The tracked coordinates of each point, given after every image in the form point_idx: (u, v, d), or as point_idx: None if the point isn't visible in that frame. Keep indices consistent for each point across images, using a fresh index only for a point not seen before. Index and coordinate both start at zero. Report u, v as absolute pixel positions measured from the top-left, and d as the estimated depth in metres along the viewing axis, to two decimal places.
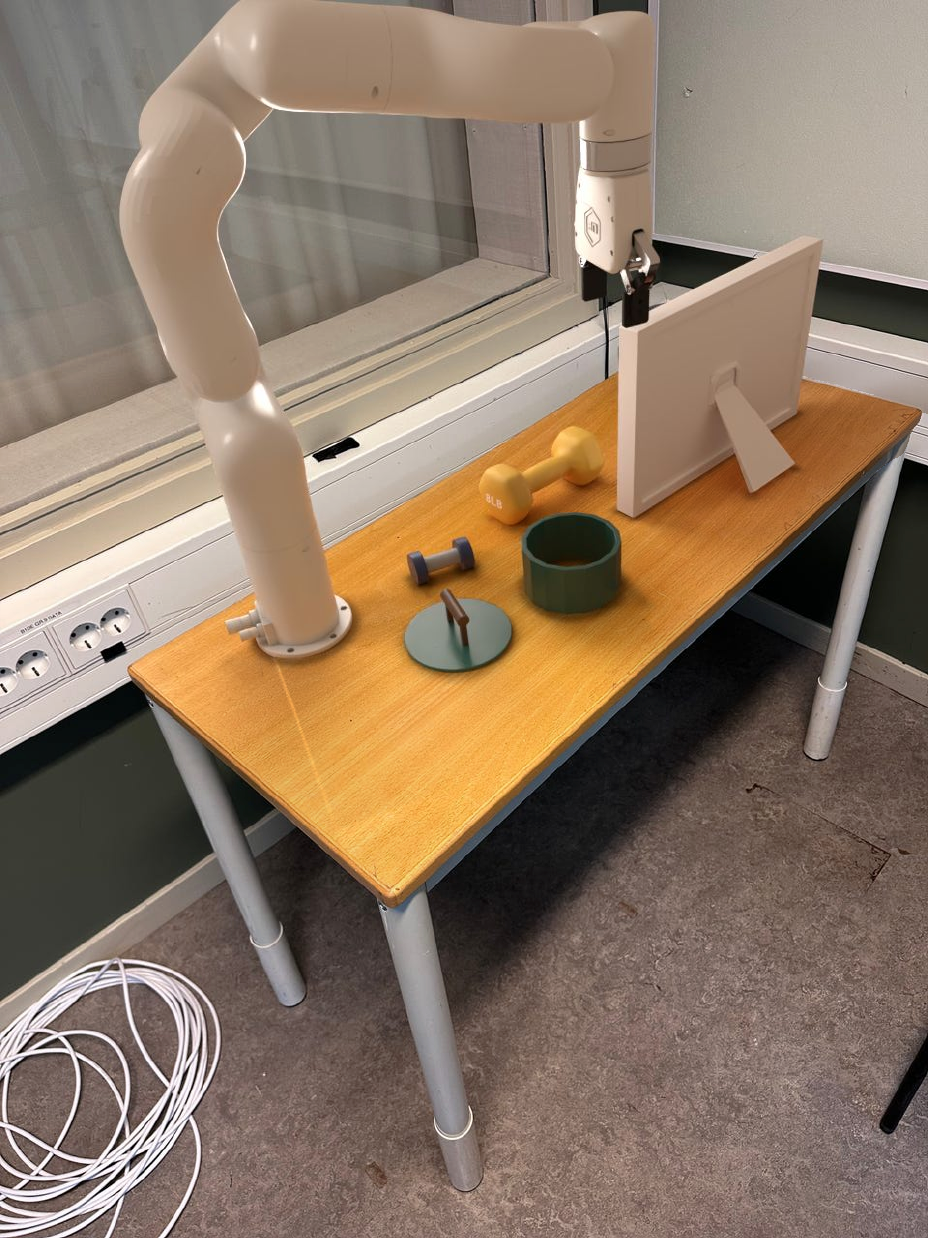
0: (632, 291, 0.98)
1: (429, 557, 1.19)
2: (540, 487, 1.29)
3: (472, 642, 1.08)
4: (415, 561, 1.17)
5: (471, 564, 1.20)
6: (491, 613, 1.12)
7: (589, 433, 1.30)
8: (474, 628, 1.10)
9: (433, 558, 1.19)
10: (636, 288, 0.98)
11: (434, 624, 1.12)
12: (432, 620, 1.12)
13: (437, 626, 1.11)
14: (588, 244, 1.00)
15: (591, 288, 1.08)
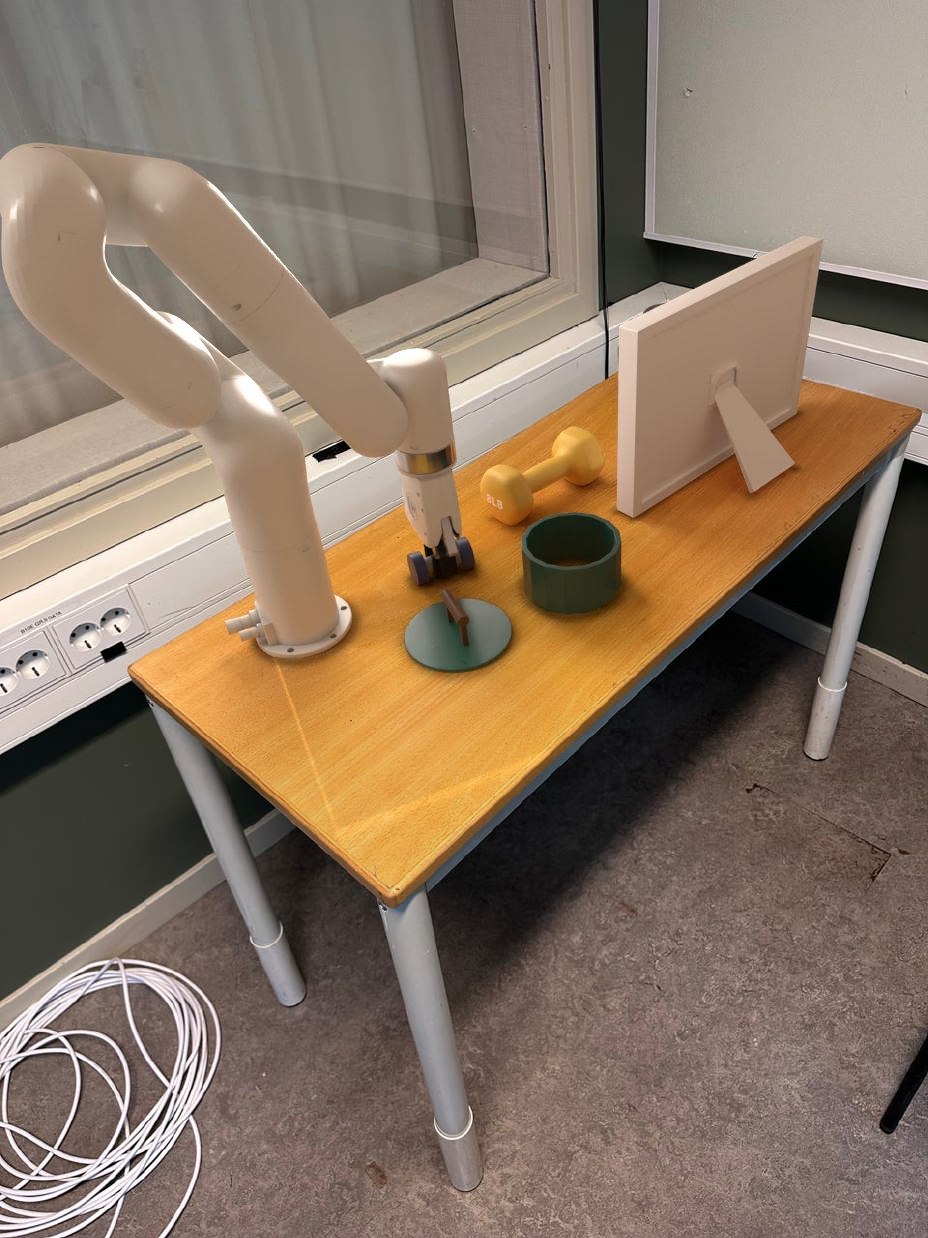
0: (437, 558, 1.16)
1: (429, 557, 1.19)
2: (541, 487, 1.29)
3: (472, 642, 1.08)
4: (415, 562, 1.17)
5: (472, 564, 1.20)
6: (491, 613, 1.12)
7: (590, 433, 1.30)
8: (474, 628, 1.10)
9: None
10: (440, 556, 1.16)
11: (434, 624, 1.12)
12: (432, 620, 1.12)
13: (437, 626, 1.11)
14: (411, 517, 1.15)
15: None
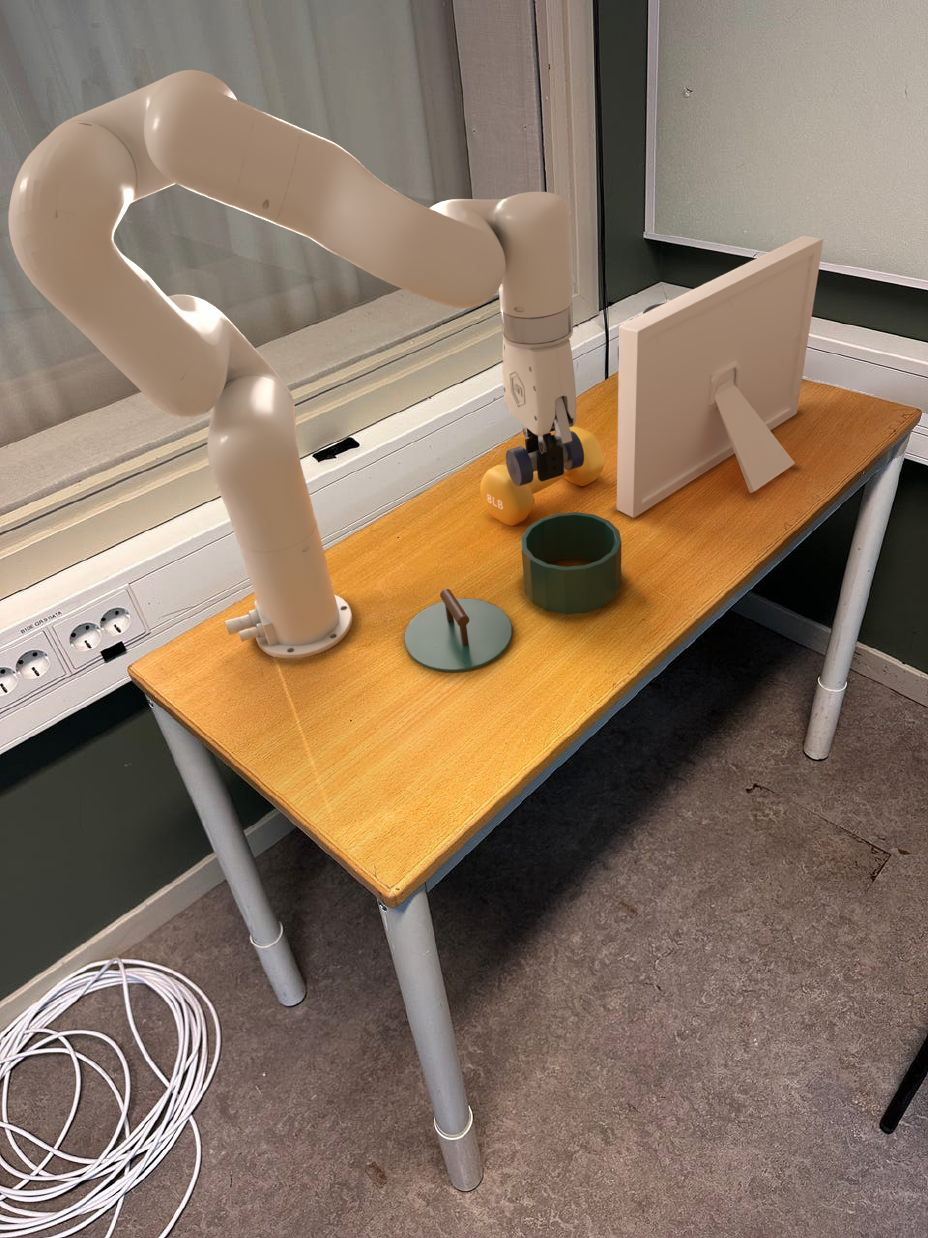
0: (544, 451, 1.01)
1: (532, 453, 1.04)
2: (541, 488, 1.29)
3: (472, 642, 1.08)
4: (518, 457, 1.02)
5: (580, 462, 1.05)
6: (491, 613, 1.12)
7: (590, 433, 1.30)
8: (474, 628, 1.10)
9: None
10: (548, 448, 1.01)
11: (434, 624, 1.12)
12: (432, 620, 1.12)
13: (437, 626, 1.11)
14: (515, 403, 1.00)
15: None
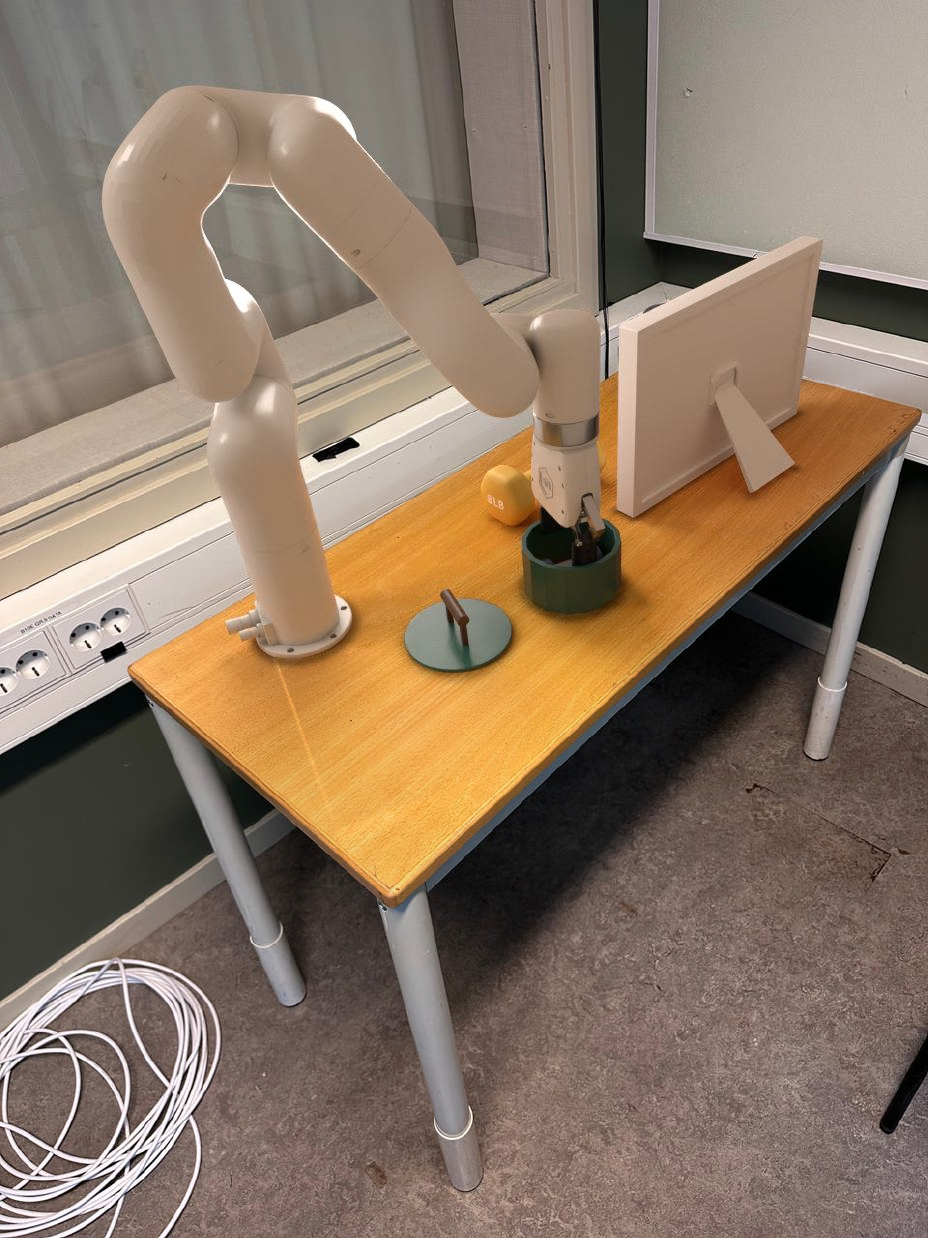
0: (580, 545, 1.05)
1: (558, 564, 1.14)
2: None
3: (472, 642, 1.08)
4: None
5: None
6: (491, 613, 1.12)
7: None
8: (474, 628, 1.10)
9: (562, 565, 1.14)
10: (584, 543, 1.05)
11: (434, 624, 1.12)
12: (432, 620, 1.12)
13: (437, 626, 1.11)
14: (542, 494, 1.07)
15: (549, 524, 1.14)
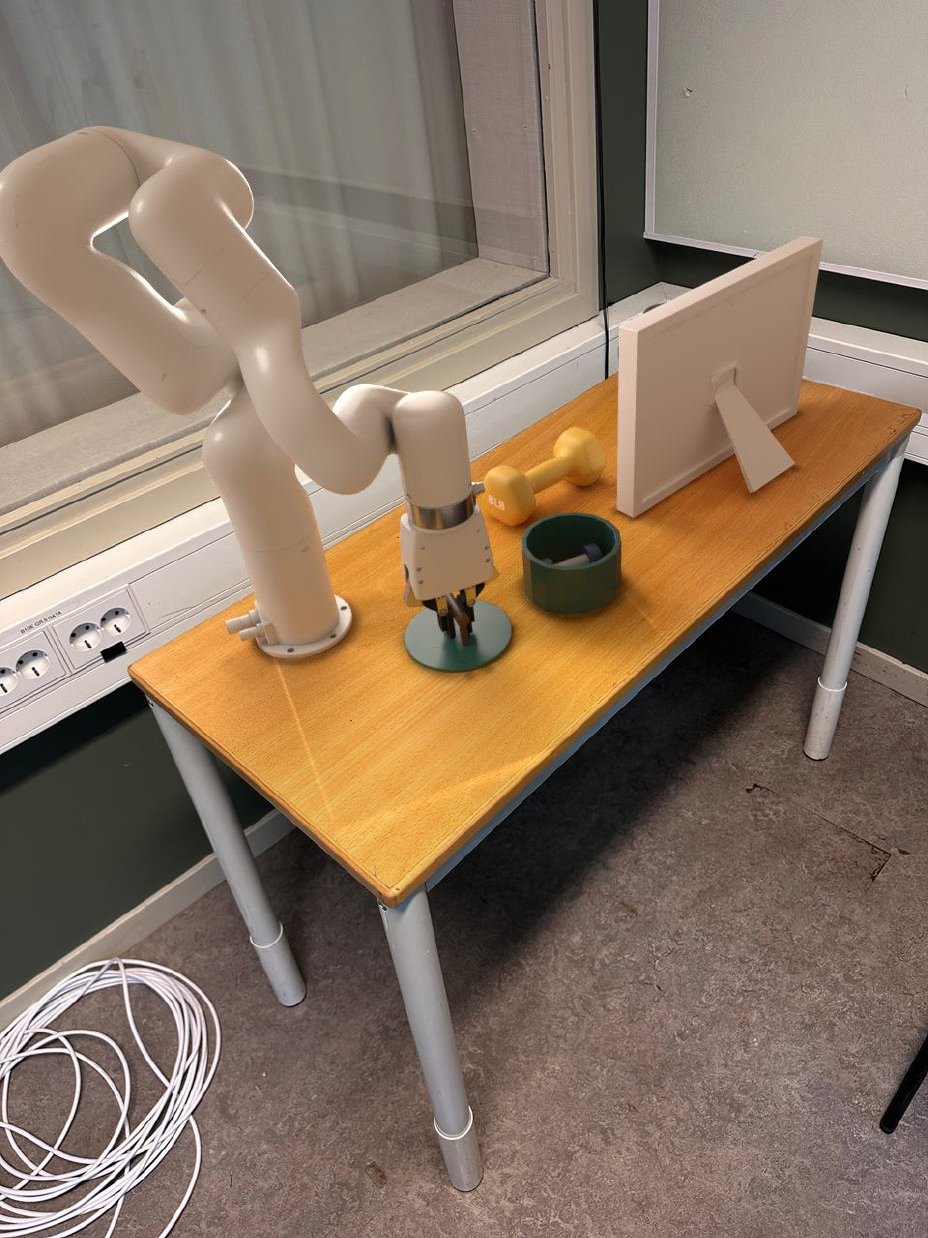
0: None
1: (557, 564, 1.14)
2: (542, 488, 1.29)
3: (472, 642, 1.08)
4: None
5: None
6: (491, 613, 1.12)
7: (591, 434, 1.30)
8: (474, 628, 1.10)
9: (562, 564, 1.14)
10: None
11: (434, 624, 1.12)
12: (432, 620, 1.12)
13: (437, 626, 1.11)
14: None
15: None
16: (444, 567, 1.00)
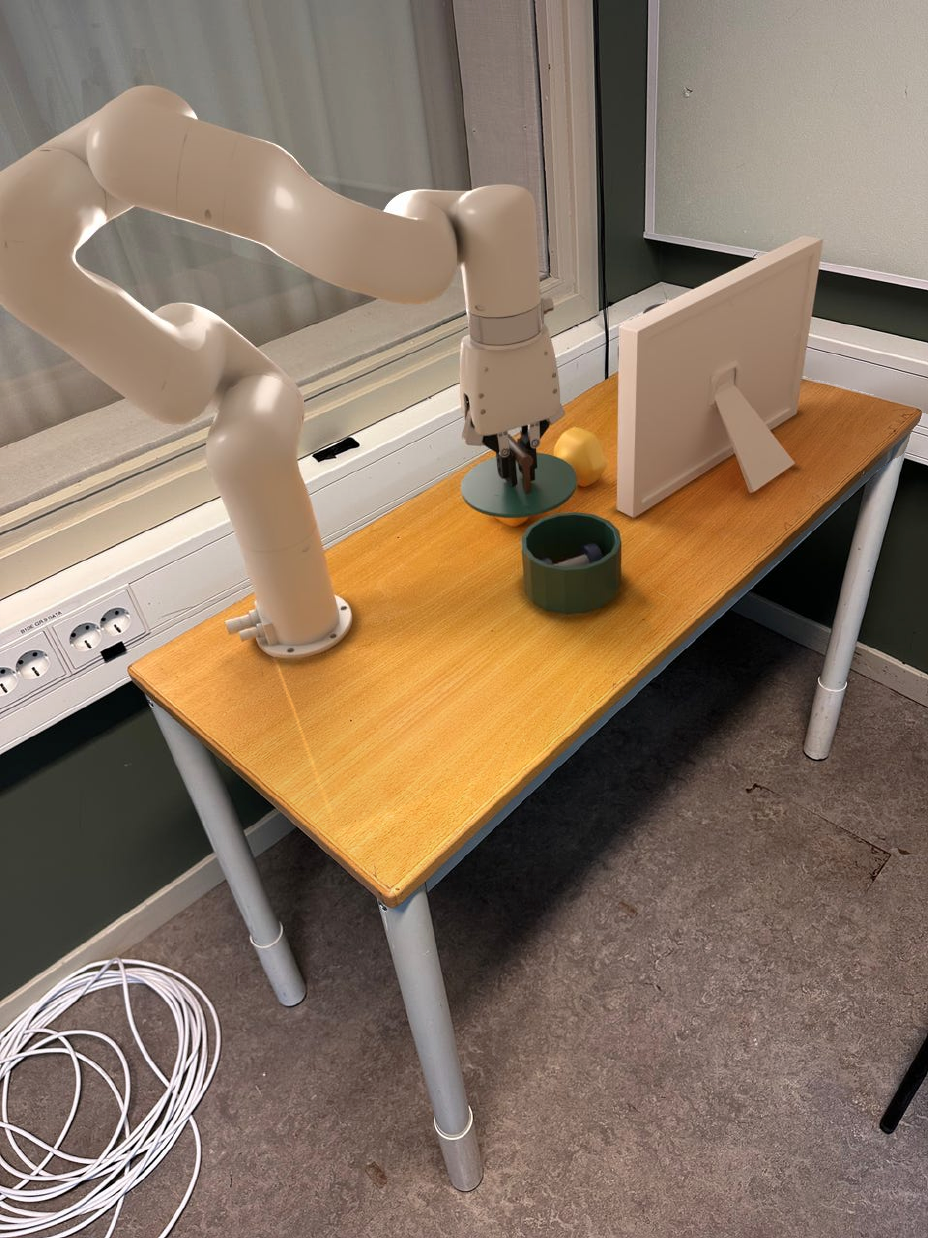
0: None
1: (557, 564, 1.14)
2: None
3: (535, 490, 1.00)
4: None
5: None
6: (553, 464, 1.04)
7: (592, 434, 1.30)
8: (536, 477, 1.02)
9: (562, 564, 1.14)
10: None
11: (492, 475, 1.03)
12: (490, 472, 1.04)
13: (495, 477, 1.03)
14: None
15: None
16: (508, 395, 0.92)
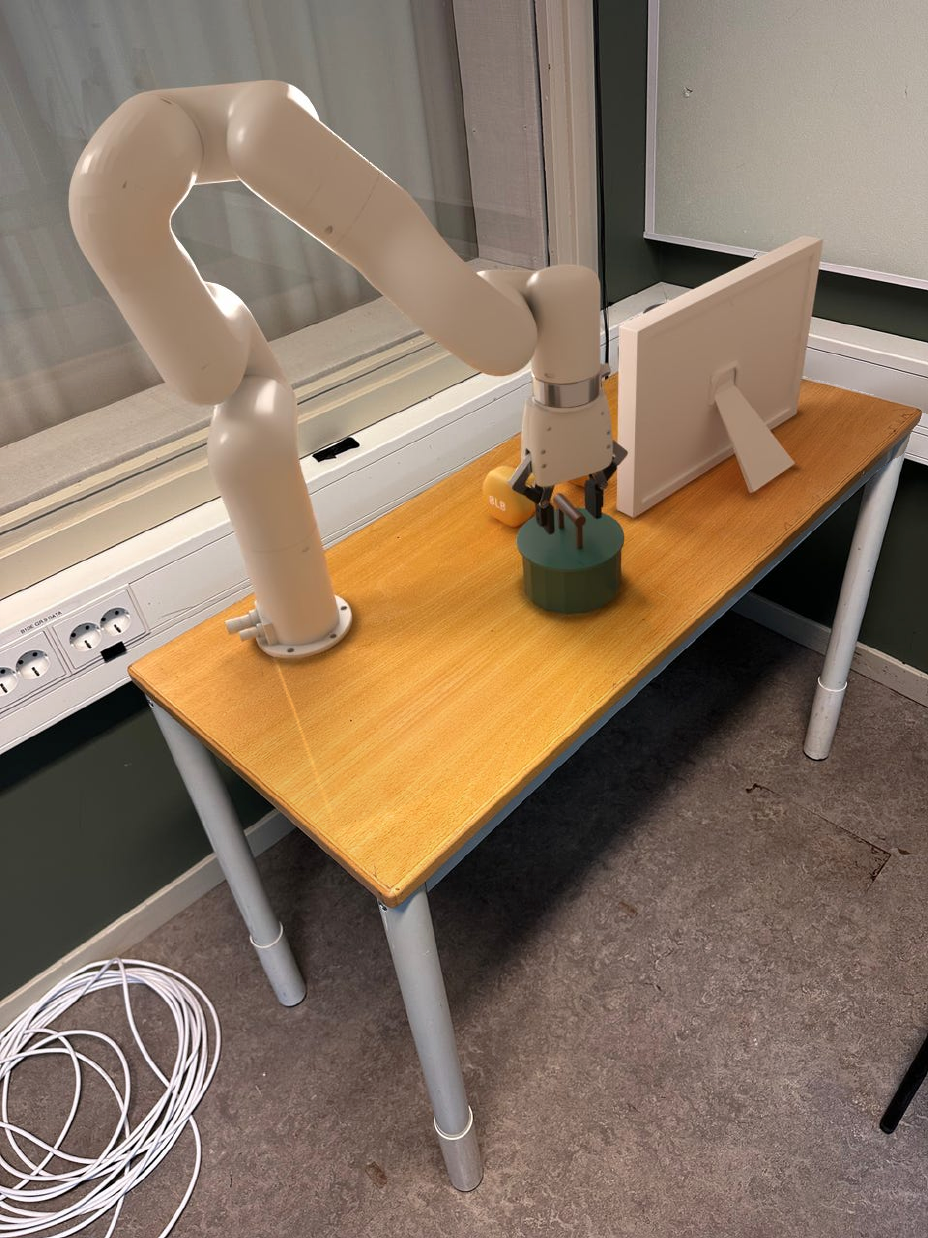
0: None
1: None
2: None
3: (586, 545, 1.09)
4: None
5: None
6: (601, 519, 1.13)
7: None
8: (586, 533, 1.11)
9: None
10: None
11: None
12: None
13: None
14: None
15: (587, 501, 1.10)
16: (567, 450, 1.00)
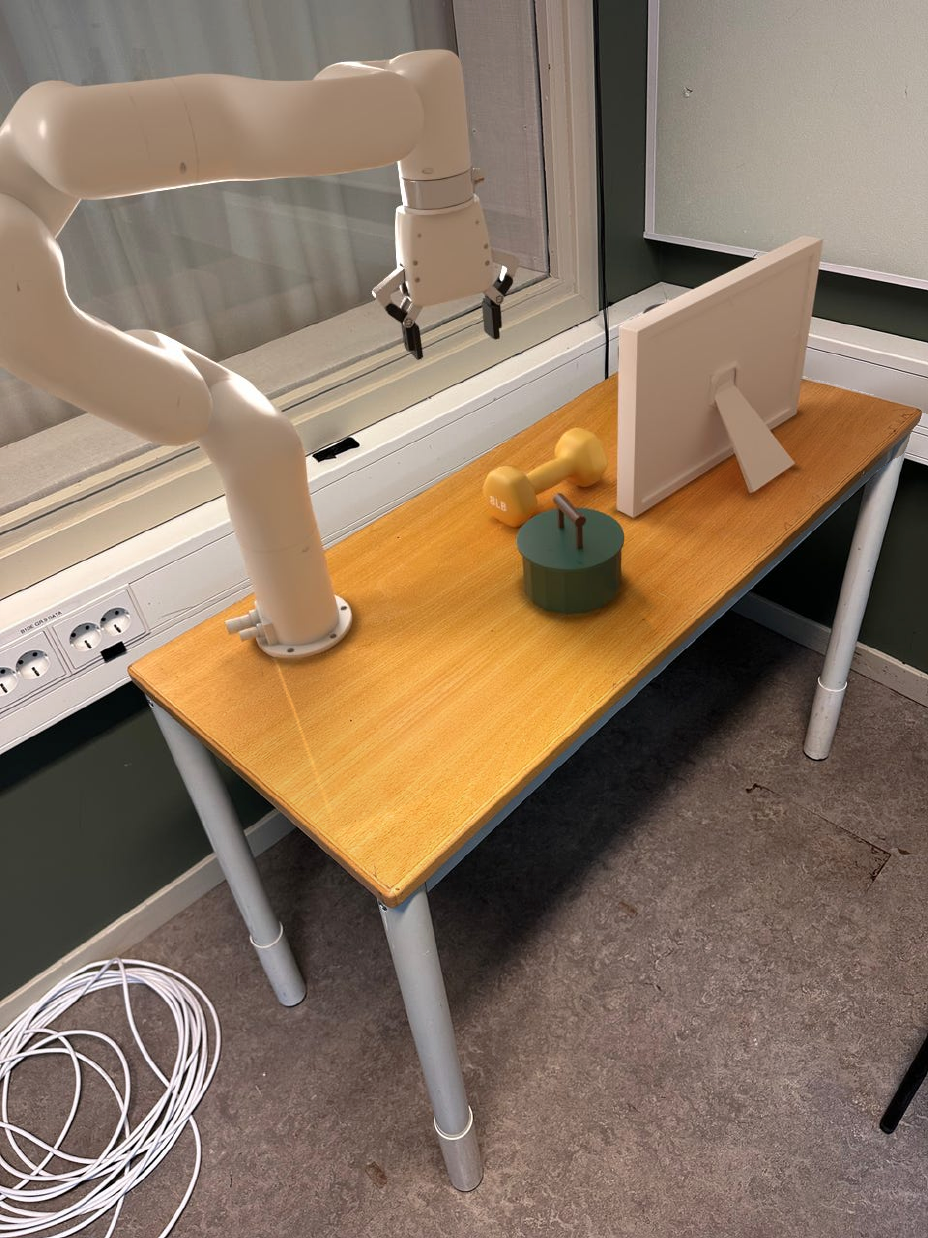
0: None
1: None
2: (544, 489, 1.29)
3: (586, 545, 1.09)
4: None
5: None
6: (601, 519, 1.13)
7: (593, 434, 1.30)
8: (586, 533, 1.11)
9: None
10: None
11: (545, 530, 1.13)
12: (542, 526, 1.13)
13: (548, 532, 1.12)
14: None
15: (486, 322, 1.05)
16: (441, 263, 0.96)
